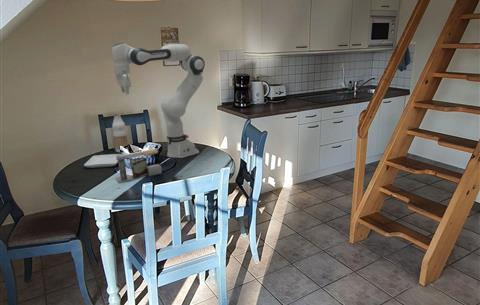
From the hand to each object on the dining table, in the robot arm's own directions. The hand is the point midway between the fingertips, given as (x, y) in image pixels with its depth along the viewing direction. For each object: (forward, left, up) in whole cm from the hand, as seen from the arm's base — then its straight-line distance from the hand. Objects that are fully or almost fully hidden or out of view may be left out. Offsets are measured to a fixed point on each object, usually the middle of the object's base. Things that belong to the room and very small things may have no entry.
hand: (125, 93), depth 232 cm
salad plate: (+16, -14, -48) cm, 52 cm away
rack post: (+13, +25, -47) cm, 55 cm away
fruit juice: (-1, -36, -47) cm, 60 cm away
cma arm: (+4, +25, -34) cm, 42 cm away
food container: (+5, +22, -47) cm, 52 cm away
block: (-5, +26, -47) cm, 54 cm away
